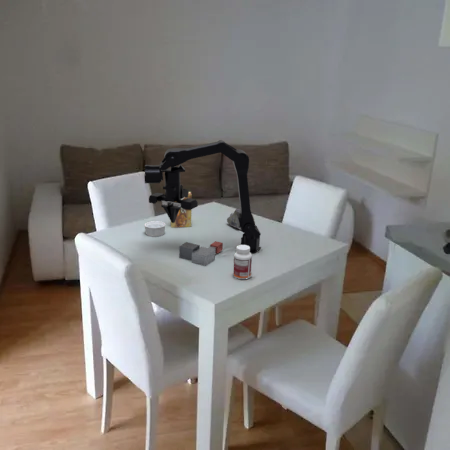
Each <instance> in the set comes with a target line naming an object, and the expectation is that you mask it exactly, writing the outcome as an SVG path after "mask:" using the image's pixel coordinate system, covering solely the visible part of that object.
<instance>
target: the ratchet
mask: <svg viewBox="0 0 450 450" xmlns="http://www.w3.org/2000/svg"><path fill="white" fill-rule="evenodd" d="M223 247H224V243H223V242H220V241H217V240H216V241H213V242H212V243H211V244H209V247H204V246H200V248H199V249H197V250H195V251H194V252H192V261H191V263H193V264H195V265H200V266H204V267H207V266H208V265H210V264H212V262H214V261H215V260H216V254H220V252H222V251H223V249H224V248H223Z"/></svg>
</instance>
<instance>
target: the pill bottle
mask: <svg viewBox="0 0 450 450" xmlns="http://www.w3.org/2000/svg"><path fill="white" fill-rule="evenodd" d="M252 255H253V253H251V252H250V247H249V246H247V245H241V244H239V245H237V246H236V252H235V253H234V254H233V273H232V274H233V276H234V277H236V278H235V279H237V278H239V280H247V279H246V278H248V279H249V277H250V278H251V277H252V264H253V263H252V261H253V259H252V258H253V256H252Z"/></svg>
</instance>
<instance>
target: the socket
mask: <svg viewBox="0 0 450 450" xmlns="http://www.w3.org/2000/svg"><path fill="white" fill-rule="evenodd" d="M200 247H201V246H200V244H197V243H196V244H195V243H191V242H187V241H186V242H184V243H183V244H179V247H178V250H179V251H178V253H179V256H178V257H179V259H183V260H185V261H191V262H192V252H194V251H195V250H197V249H199V248H200Z"/></svg>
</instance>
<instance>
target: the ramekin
mask: <svg viewBox="0 0 450 450" xmlns="http://www.w3.org/2000/svg"><path fill="white" fill-rule="evenodd" d="M144 229H145V230H144V231H145V235H146V236H148V237H152V238H157V237H161V236H163V235H165V232H166V231H165V230H166V223H165V222H164V221H161V220H160V221H159V220H158V221H157V220H152V221H148V222H145V223H144Z"/></svg>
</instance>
